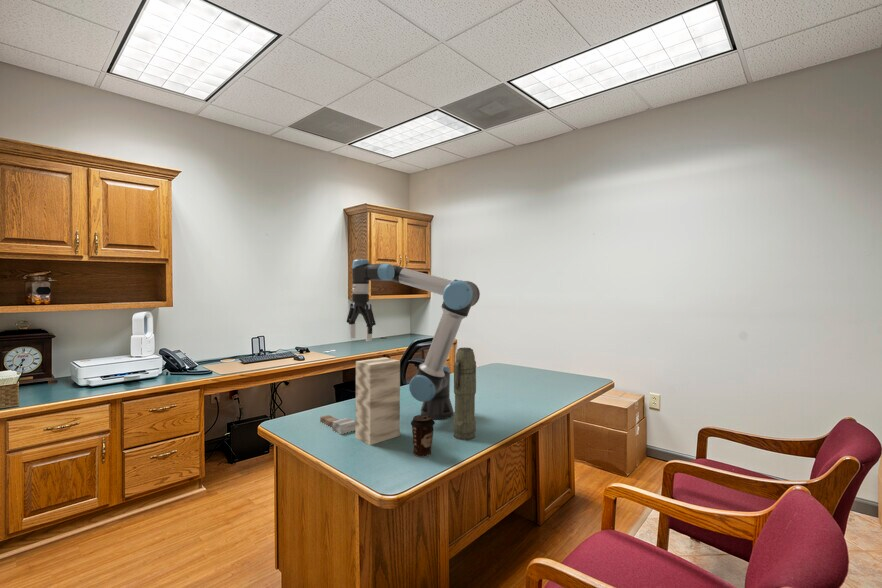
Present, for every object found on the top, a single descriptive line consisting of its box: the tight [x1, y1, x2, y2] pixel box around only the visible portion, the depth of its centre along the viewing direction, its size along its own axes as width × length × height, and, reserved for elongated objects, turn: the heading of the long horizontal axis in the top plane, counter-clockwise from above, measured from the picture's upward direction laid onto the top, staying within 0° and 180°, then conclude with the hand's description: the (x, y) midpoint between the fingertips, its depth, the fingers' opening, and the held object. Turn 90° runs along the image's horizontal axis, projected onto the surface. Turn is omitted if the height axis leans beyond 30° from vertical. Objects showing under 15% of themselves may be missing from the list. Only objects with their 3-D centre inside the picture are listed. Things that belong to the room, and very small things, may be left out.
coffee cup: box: [410, 414, 436, 458], centre depth 146 cm, size 9×8×13 cm
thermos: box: [452, 347, 477, 441], centre depth 163 cm, size 9×12×35 cm
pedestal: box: [354, 356, 401, 446], centre depth 162 cm, size 10×14×30 cm
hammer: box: [319, 414, 356, 435], centre depth 173 cm, size 19×7×4 cm, turn 45°
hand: (360, 339), depth 189 cm, fingers open, 13 cm apart
